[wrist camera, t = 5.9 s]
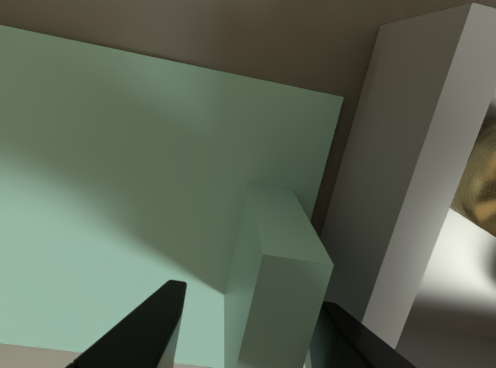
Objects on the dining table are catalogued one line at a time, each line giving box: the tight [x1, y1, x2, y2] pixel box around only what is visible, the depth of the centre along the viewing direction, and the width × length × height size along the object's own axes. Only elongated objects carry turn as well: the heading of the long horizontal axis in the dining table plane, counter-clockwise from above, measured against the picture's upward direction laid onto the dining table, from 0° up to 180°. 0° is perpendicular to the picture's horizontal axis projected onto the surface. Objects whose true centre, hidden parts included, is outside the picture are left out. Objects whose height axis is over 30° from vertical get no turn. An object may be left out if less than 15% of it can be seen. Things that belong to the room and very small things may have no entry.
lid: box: [0, 25, 344, 368], centre depth 10 cm, size 10×12×5 cm
